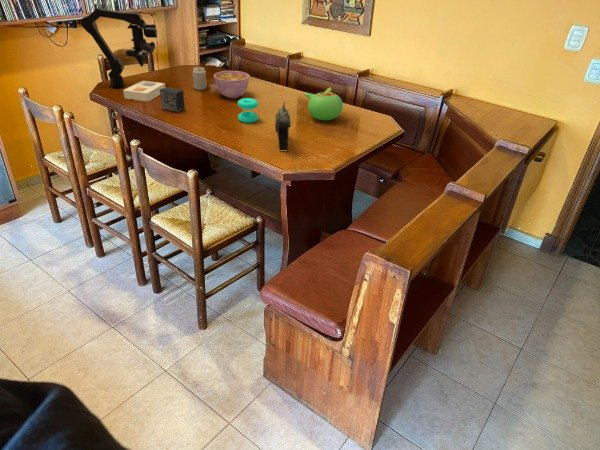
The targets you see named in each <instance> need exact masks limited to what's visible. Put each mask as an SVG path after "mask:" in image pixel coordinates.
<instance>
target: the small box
mask: <svg viewBox="0 0 600 450" xmlns="http://www.w3.org/2000/svg"><path fill="white" fill-rule="evenodd" d="M159 96H160V104H161V105H160V106H161V110H163V111H167V112H171V113H176V114H178V113H181V112H183V111H185V110H186V109H185V100H184V99H185V97H184V96H185V95H184V90H183V89H179V88H174V87H168V86H167V87H166V86H165V88H163V89H160V95H159Z"/></svg>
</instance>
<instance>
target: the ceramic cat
mask: <svg viewBox="0 0 600 450" xmlns="http://www.w3.org/2000/svg"><path fill="white" fill-rule="evenodd" d="M285 105H286V102H285V101H284V102H283V105H282V107H281V108H279V109H278V112H277V113H275V122H274V123H275V124H274V129H275V132H276V133H277V137H278V149H280V150H287V151H288V148H289V131H290V128H291V126H292V125H291V115H290V113H289V109H287V108H285ZM280 150H279V151H280Z"/></svg>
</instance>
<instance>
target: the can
mask: <svg viewBox="0 0 600 450" xmlns="http://www.w3.org/2000/svg"><path fill="white" fill-rule="evenodd" d="M192 80H193V81H192V82H193V89H194V90H196V91H204V90H206V89H207V88H208V87H207V71H206V70H205V67H202V66H197V67H196V66H195V67H193V70H192Z"/></svg>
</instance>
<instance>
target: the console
mask: <svg viewBox="0 0 600 450" xmlns="http://www.w3.org/2000/svg"><path fill="white" fill-rule="evenodd" d="M147 82H149V83H155V85H153V86H145V85H143V84H145V83H147ZM137 87H141V88H146V90H144V91H135V90H134V89H135V88H137ZM163 88H166V83H164V82H158V81H157V82H156V81H151V80H150V81H149V80H141V81H138V82H137V83H134V84H133V85H131V86H129V87H126V88H125V89H123V90H122V91H123V97H124V99H125V100H131V99H133V101H140V102H151V101H152V100H153V99H155V98H156V97H158V96H160V89H163Z"/></svg>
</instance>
